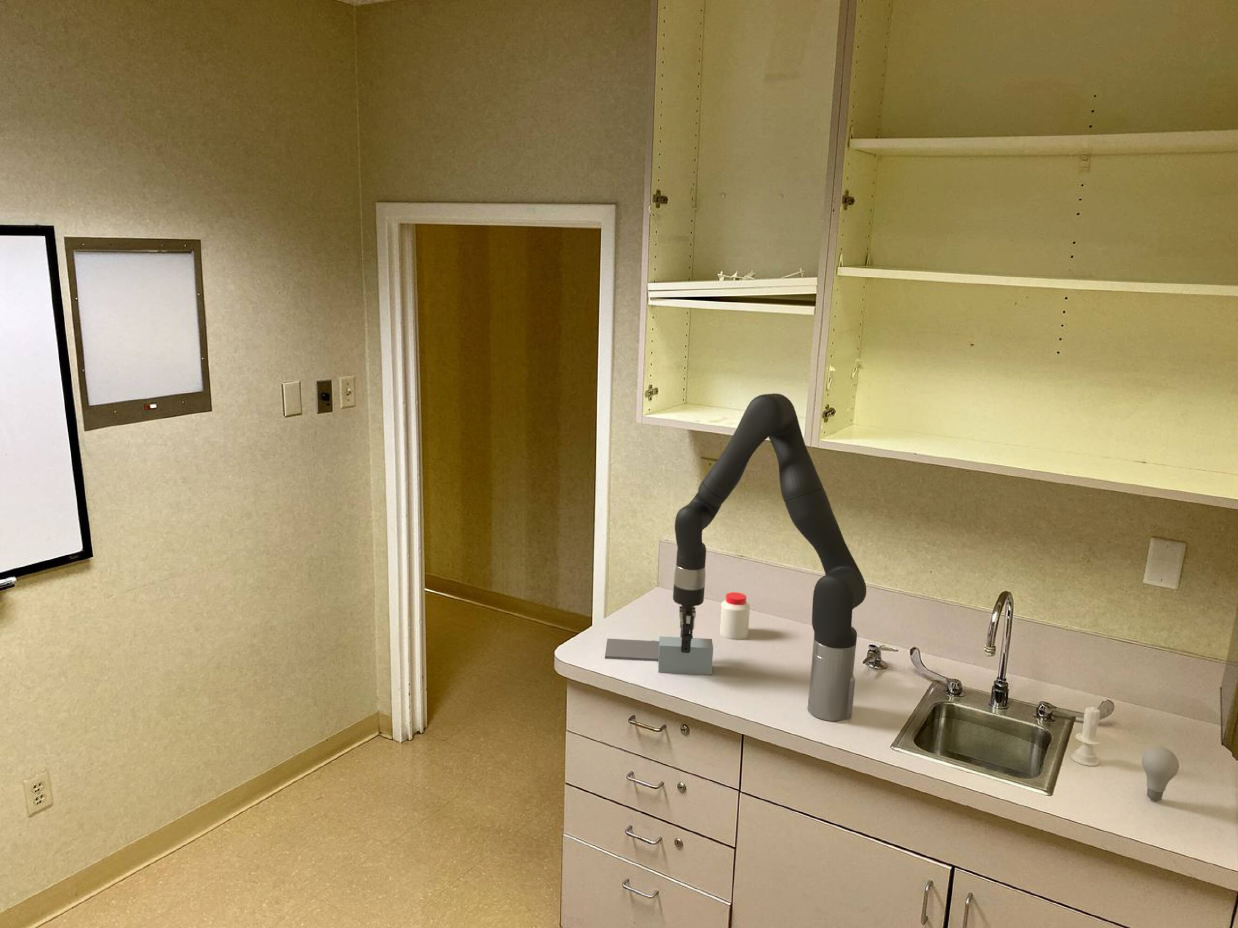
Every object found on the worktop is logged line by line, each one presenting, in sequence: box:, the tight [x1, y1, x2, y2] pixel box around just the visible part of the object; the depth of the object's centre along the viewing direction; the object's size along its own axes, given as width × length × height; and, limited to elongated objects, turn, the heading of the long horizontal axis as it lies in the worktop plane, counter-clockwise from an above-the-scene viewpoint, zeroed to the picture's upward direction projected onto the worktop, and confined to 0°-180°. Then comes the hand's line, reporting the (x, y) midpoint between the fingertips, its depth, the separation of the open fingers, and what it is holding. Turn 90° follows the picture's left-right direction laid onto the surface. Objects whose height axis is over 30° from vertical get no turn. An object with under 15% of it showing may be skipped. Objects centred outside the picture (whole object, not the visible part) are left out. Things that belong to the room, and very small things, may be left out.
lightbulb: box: [1141, 745, 1180, 802], centre depth 172 cm, size 6×6×11 cm
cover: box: [657, 635, 714, 676], centre depth 222 cm, size 13×6×7 cm, turn 88°
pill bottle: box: [719, 591, 751, 641], centre depth 244 cm, size 8×8×11 cm
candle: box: [1070, 705, 1102, 767], centre depth 186 cm, size 5×5×12 cm
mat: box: [604, 638, 659, 662], centre depth 232 cm, size 14×11×1 cm
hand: (685, 644), depth 222 cm, fingers open, 8 cm apart
